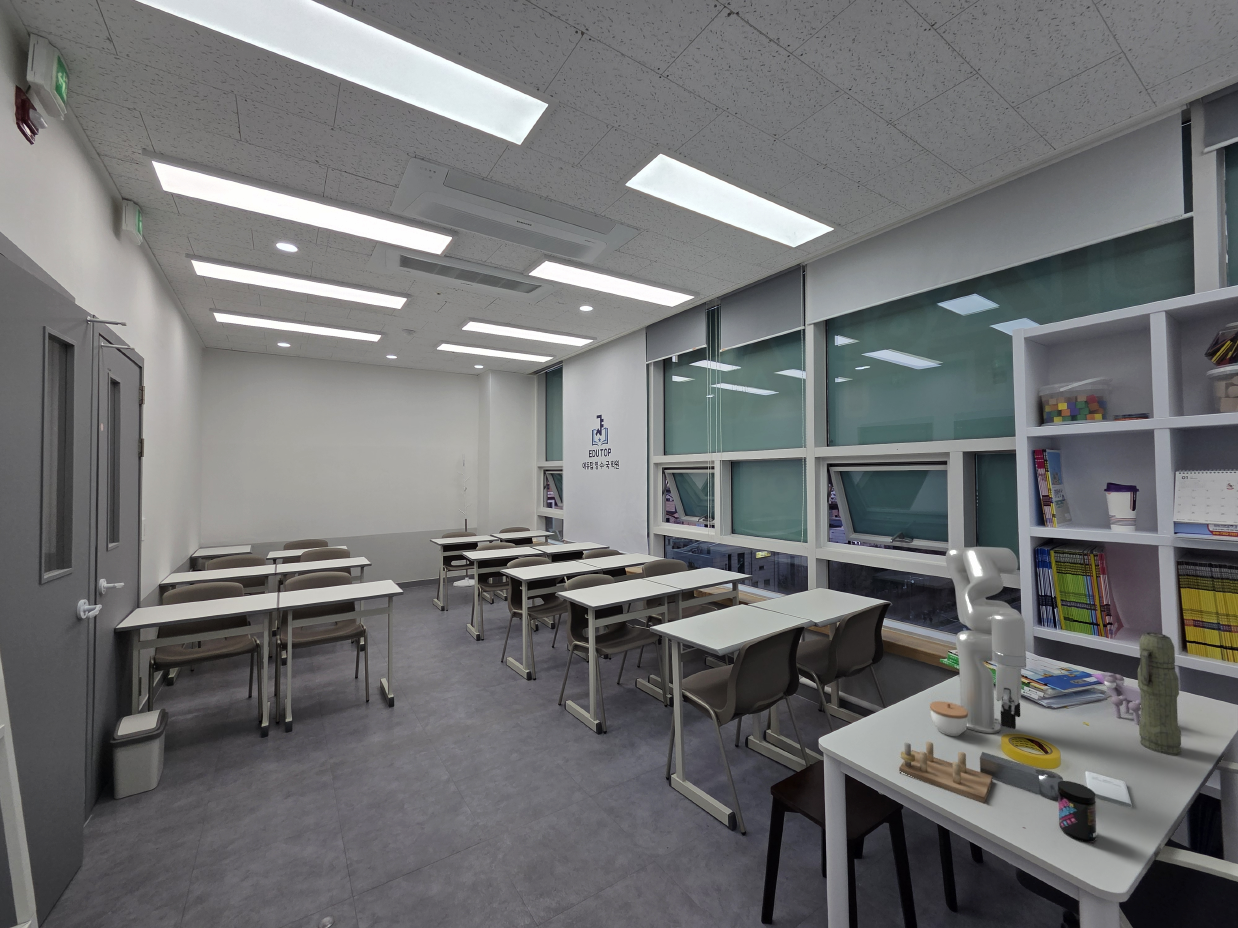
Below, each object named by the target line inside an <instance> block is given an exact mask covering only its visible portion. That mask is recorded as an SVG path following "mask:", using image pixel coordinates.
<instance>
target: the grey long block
mask: <svg viewBox="0 0 1238 928" xmlns="http://www.w3.org/2000/svg"><path fill="white" fill-rule="evenodd" d="M979 772H981V773H984V774H987V775H990V776H992V780H993V781H996V782H1000V783H1003V784H1006V785H1010V786H1011V787H1015V788H1019V789H1022V790H1024V791H1027V792H1030V793H1033V794H1037V795H1038V796H1039V795H1040V796H1041V797H1042V798H1045V799H1047V800H1050V801H1053V802H1054V801H1056V802H1058V782H1060V781H1064V778H1063V776H1061V775H1060V774H1059V773H1057V772H1054V771H1052V770H1048V769H1041V768H1038V767H1034V766H1031V765H1027V764H1023V763H1020V762H1018V761H1015V760H1011V759H1008V758H1004V757H1001V756H999V755H994V754H992V753H991V754H990V753H988V752H984V751H982V752H981V754H980V756H979Z"/></svg>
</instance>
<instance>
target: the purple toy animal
mask: <svg viewBox="0 0 1238 928" xmlns="http://www.w3.org/2000/svg"><path fill="white" fill-rule="evenodd" d="M1091 676H1092V677H1093V678H1095V679H1096V680H1098V682H1100V683H1102V684H1103V686H1106V690H1107V691H1108V694H1109V696H1112V697H1111V699H1110V701H1111V703H1112V704H1113V708H1114V715H1115V718H1117V719H1121V718H1122V714H1121V708H1120V707H1121V706H1124V707H1123V713H1124V714H1127V713H1129V714H1130V711H1132V713H1133V720H1134V721H1133V722H1134V724H1135V725H1137V724H1139V721H1140V719H1141V718H1140V717H1141V713H1140V712H1141V695H1140V689H1139V687H1138V688H1137V687H1134V686H1131V685H1128V684H1126V685H1125V678H1124V677H1123V675H1121V674H1115V673H1112V672H1109V671H1105V672H1103V673H1096V674H1091ZM1123 704H1124V705H1123Z"/></svg>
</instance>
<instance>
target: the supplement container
mask: <svg viewBox="0 0 1238 928" xmlns="http://www.w3.org/2000/svg"><path fill="white" fill-rule="evenodd" d="M1096 799H1097V798H1096V795H1095V793H1094V792H1093V791H1092V790H1091V789H1089V788H1088V787H1087V785H1086V786H1085V785H1084V784H1081V783H1078V782H1074V781H1070V780H1063V781H1060V782H1058V801H1057V802H1058V825H1059V828H1060V830H1061V831H1062V832H1063V833H1064V834H1065V835H1067V837H1070V838H1072V839H1074V840H1077V841H1079V842H1083V843H1093V842H1095V841H1096V840H1097V839H1098V837H1097V835H1098V833H1097V807H1096V804H1097V801H1096Z"/></svg>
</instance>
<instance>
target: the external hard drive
mask: <svg viewBox="0 0 1238 928" xmlns="http://www.w3.org/2000/svg"><path fill="white" fill-rule="evenodd" d="M1084 775H1085V780H1086V787H1088V788H1089V789H1091V790H1092V791H1093V792H1094V793H1095V795H1096V799H1099V800H1103V801H1107V802H1110V803H1113V804H1117V805H1119V806H1123V807H1126V808H1127V807H1128V808H1131V809H1132V808H1133V806H1132V801H1131V797H1130V794H1129V790H1128V787H1127V784H1126V782H1125V781H1124V780H1121V779H1116V778H1113V777H1109V776H1105V775H1102V774H1099V773H1095V772H1091V771H1085V773H1084Z"/></svg>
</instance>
